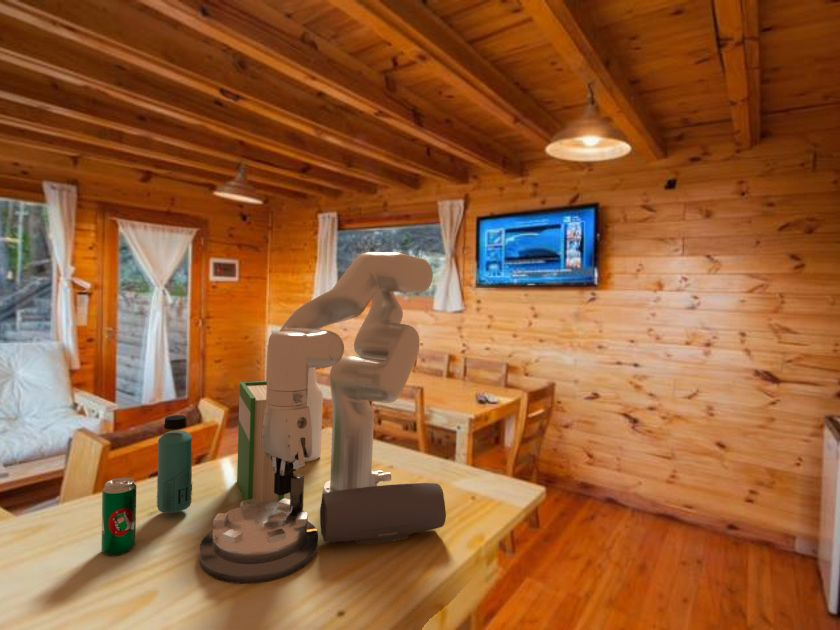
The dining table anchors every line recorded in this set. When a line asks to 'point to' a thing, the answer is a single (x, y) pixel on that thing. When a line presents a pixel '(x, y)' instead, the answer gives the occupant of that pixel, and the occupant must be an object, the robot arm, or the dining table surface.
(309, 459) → the white bottle
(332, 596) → the dining table surface
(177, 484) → the beverage bottle
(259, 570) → the dark brown round plate
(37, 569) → the dining table surface
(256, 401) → the hardback book
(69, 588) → the dining table surface
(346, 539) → the bluetooth speaker
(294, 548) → the brown round knobbed piece
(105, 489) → the soda can
